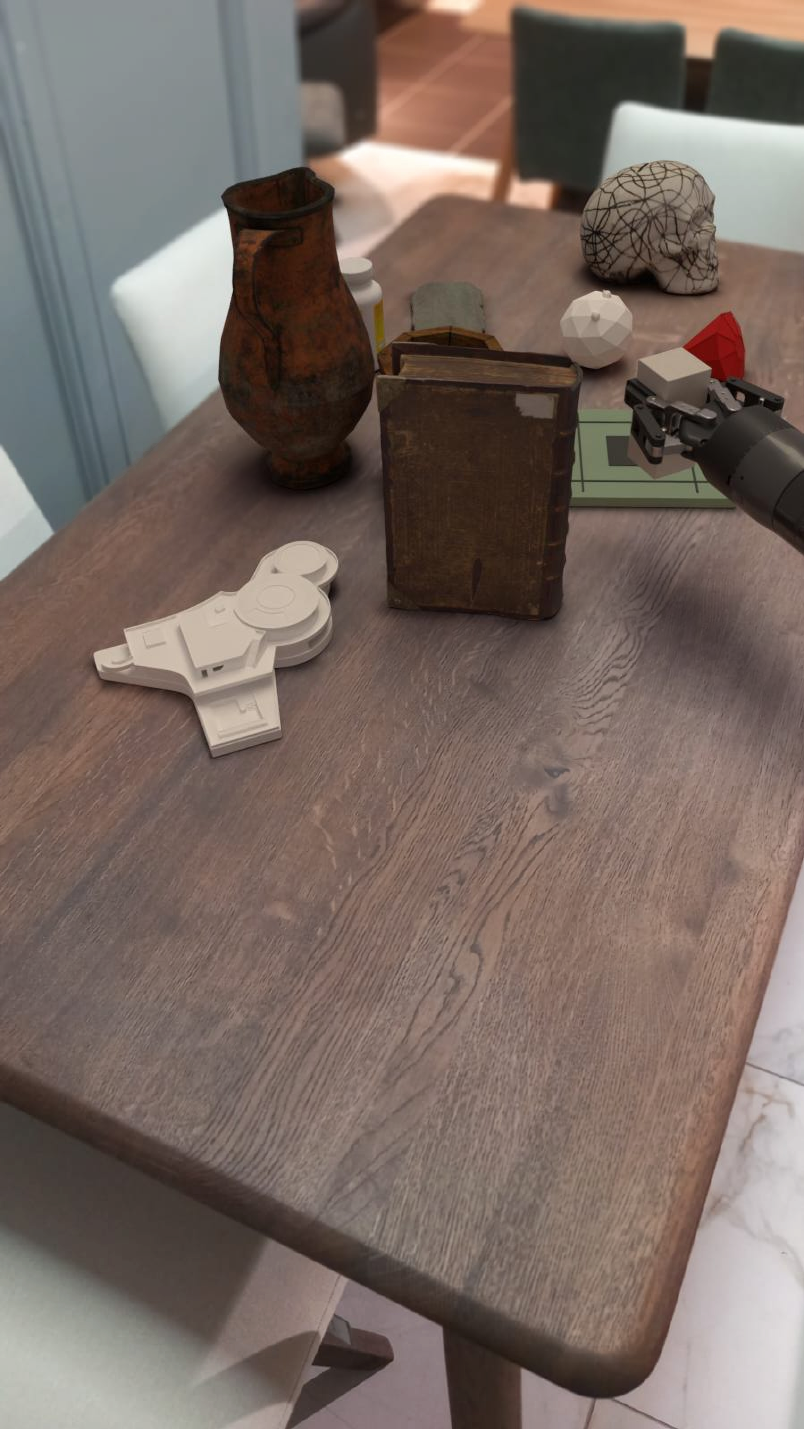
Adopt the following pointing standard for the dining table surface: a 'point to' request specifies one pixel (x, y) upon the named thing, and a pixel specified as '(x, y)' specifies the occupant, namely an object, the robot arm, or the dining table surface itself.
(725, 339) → the gemstone
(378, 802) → the dining table surface
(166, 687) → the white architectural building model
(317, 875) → the dining table surface
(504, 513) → the book
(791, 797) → the dining table surface
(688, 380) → the beige rectangular block
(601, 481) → the grid board
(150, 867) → the dining table surface
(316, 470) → the pitcher
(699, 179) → the sculpture
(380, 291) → the supplement bottle
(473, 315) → the stone slab
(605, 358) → the decorative ball
